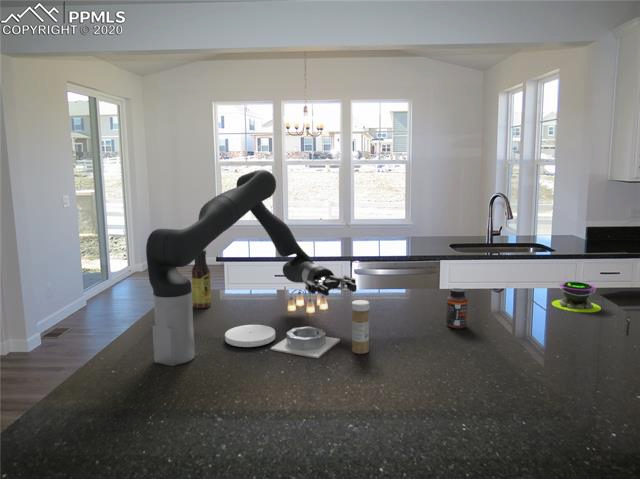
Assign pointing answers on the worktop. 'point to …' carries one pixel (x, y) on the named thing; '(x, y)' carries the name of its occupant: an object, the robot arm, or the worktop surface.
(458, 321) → the supplement bottle
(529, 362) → the worktop surface
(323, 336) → the ring
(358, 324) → the sprinkles bottle
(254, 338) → the plastic lid
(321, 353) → the base plate
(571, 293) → the toy cauldron
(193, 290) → the sauce bottle
